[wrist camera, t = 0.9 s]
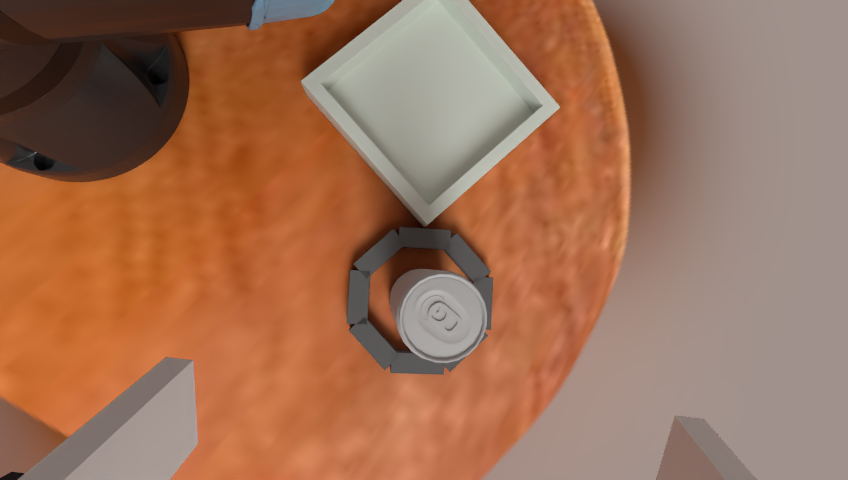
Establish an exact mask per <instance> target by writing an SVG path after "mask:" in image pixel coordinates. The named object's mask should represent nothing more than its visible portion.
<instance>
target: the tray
mask: <svg viewBox="0 0 848 480" xmlns="http://www.w3.org/2000/svg"><path fill="white" fill-rule="evenodd" d="M301 83H302V86H303V88H304V90H305V93H306V95H307V96H308V97H309V98H310V100H311V101H312V102H313V103H314V104H315V105H316V106H317V107H318V109H319V110H320V111H321V112H322V113H323V114H324V115H325V116H326V118H327V119H328V120H329V121H330V122H331V123H332V124H333V126H334V127H335V128H336V129H337V130H338V131H339V132H340V133H341V135H342V136H343V137H344V138H345V139H346V140H347V141H348V143H349V144H350V145H351V146H352V147H353V148H354V149H355V150H356V152H357V153H358V154H359V155H360V156H361V157H362V158H363V160H364V161H365V162H366V163H367V164H368V165H369V166H370V167H371V169H372V170H373V171H374V172H375V173H376V174H377V175H378V176H379V178H380V179H381V180H382V181H383V182H384V183H385V184H386V186H387V187H388V188H389V189H390V190H391V191H392V192H393V193H394V195H395V196H396V197H397V198H398V199H399V200H400V201H401V203H402V204H403V205H404V206H405V207H406V208H407V209H408V210H409V212H410V213H411V214H412V215H413V216H414V217H415V218H416V219H417V221H418V222H419V223H420V224H421V225H422V226H423V227H426V226H427V225H428V224H429V223H430V222H431V221H433V220H434V219H435V218H436V217H437V216H438V215H439V214H440V213H442V212H443V211H444V210H445V209H446V208H447V207H448V206H449V205H451V204H452V203H453V202H454V201H455V200H456V199H457V198H459V197H460V196H461V195H462V194H463V193H464V192H465V191H466V190H468V189H469V188H470V187H471V186H472V185H473V184H474V183H475V182H477V181H478V180H479V179H480V178H481V177H482V176H483V175H484V174H486V173H487V172H488V171H489V170H490V169H491V168H492V167H493V166H495V165H496V164H497V163H498V162H499V161H500V160H501V159H503V158H504V157H505V156H506V155H507V154H508V153H509V152H510V151H512V150H513V149H514V148H515V147H516V146H517V145H518V144H519V143H521V142H522V141H523V140H524V139H525V138H526V137H527V136H528V135H530V134H531V133H532V132H533V131H534V130H535V129H536V128H537V127H539V126H540V125H541V124H542V123H543V122H544V121H545V120H546V119H548V118H549V117H550V116H551V115H552V114H553V113H554V112H556V111H557V110H558V109H559V108H560V106H559V105H558V104H557V103H556V102H555V100H554V99H553V98H552V97H551V96H550V95H549V93H548V92H547V91H546V90H545V89H544V88H543V87H542V85H541V84H540V83H539V82H538V81H537V80H536V78H535V77H534V76H533V75H532V74H531V73H530V71H529V70H528V69H527V68H526V67H525V66H524V64H523V63H522V62H521V61H520V60H519V59H518V57H517V56H516V55H515V54H514V53H513V52H512V50H511V49H510V48H509V47H508V46H507V45H506V44H505V42H504V41H503V40H502V39H501V38H500V37H499V35H498V34H497V33H496V32H495V31H494V30H493V28H492V27H491V26H490V25H489V24H488V23H487V21H486V20H485V19H484V18H483V17H482V16H481V14H480V13H479V12H478V11H477V10H476V9H475V7H474V6H473V5H472V4H471V3H470V2H469V0H403V1H401V2H400V3H399V4H397V5H396V6H395V7H394V8H392V9H391V10H390V11H389V12H387V13H386V14H385V15H384V16H382V17H381V18H380V19H378V20H377V21H376V22H375V23H373V24H372V25H371V26H370V27H368V28H367V29H366V30H365V31H363V32H362V33H361V34H360V35H358V36H357V37H356V38H354V39H353V40H352V41H351V42H349V43H348V44H347V45H346V46H344V47H343V48H342V49H341V50H339V51H338V52H337V53H336V54H334V55H333V56H332V57H330V58H329V59H328V60H327V61H325V62H324V63H323V64H322V65H320V66H319V67H318V68H317V69H315V70H314V71H313V72H312V73H310V74H309V75H308V76H306V77H305V78H304V79H303V80H301Z"/></svg>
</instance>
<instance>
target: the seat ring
mask: <svg viewBox="0 0 848 480" xmlns="http://www.w3.org/2000/svg"><path fill="white" fill-rule="evenodd" d="M402 247H406V248H423V249H439V250H444V251H445V252H446V253H447V255H448V256H449V257H450V258H451V259H452V260H453V261H454V263H455V264H456V265H457V266H458V267H459V268H460V269H461V270H462V272H463V273H464V274H465V275H466V276H467V277H468V278H469V279H470V281H471V282H472V284H473V285H474V286H475V287H476V288H477V289H478V291H479V292H480V294H481V296H482V298H483V300H484V302H485V306H486V311H487V326H486V329H487V330H491V312H492V289H493V278H490V277H485V276H487V275H488V274H489V273H490V272H491V271H490V270H489V269H488V268H487V267H486V266H485V264H484V263H483V262H482V261H481V260H480V259H479V258H478V256H477V255H476V254H475V253H474V252H473V251H472V250H471V248H470V247H469V246H468V245H467V244H466V243H465V242H464V241H463V239H462V238H461V237H460V236H459V235H458V234H457V233H456V234H454V235H453V236H452V237H451V230H441V229H426V228H411V227H399V232H398V234H397V233H396V232H395V230H394V229H393V230H391V231H390V232H389V233H388V234H387V235H386V236H385V237H383V238H382V239H381V240H380V241H379V242H378V243H377V244H375V245H374V246H373V247H372V248H371V249H370V250H369V251H367V252H366V253H365V254H364V255H363V256H362V257H361V258H359V259H358V260H357V261H356V262H355V263H354V265H355V266H356V267H357V269H358V270H350V281H349V296H348V311H347V324H354V325H353V326H352V327H350V329H349V331H350V332H351V333H352V334H353V335H354V337H355V338H356V339H357V340H358V341H359V342H360V343H361V344H362V345H363V347H364V348H365V349H366V350H367V351H368V352H369V353H370V354H371V355H372V357H373V358H374V359H375V360H376V361H377V362H378V363H379V364H380V365H381V367H382V368H383V369H384V370H385V369H386V368H387V367H388V366H390V365H391V366H390V370H391V373H411V374H444V366H445V367H446V368H447V369H448V370H449V372H450V371H451V370H452V369H454V368H455V367H456V366H457V365H458V364H459V363H460V362H461V361H462V360H463V359H464V358H465V357H466V356H465V357H463V358H461V359H459V360H457V361H452V362H448V363H439V362H433V361H429V360H426V359H423V358H421V357H419V356H418V355H416V354H415V353H413V352H412V351H411V350H396V349H395V348H394V347H393V346H392V345H391V344H390V342H389V341H388V340H387V339H386V338H385V337H384V336H383V335H382V334H381V332H380V331H379V330H378V329H377V328H376V327H375V326H374V325H373V324H372V322H371V321H370V320H369V319H368V303H369V287H370V275H371V274H373V273H374V272H375V271H376V270H377V269H378V268H379V267H380V266H382V265H383V264H384V263H385V262H386V261H387V260H388V259H389V258H391V257H392V256H393V255H394V254H395V253H396V252H397V251H398V250H400V249H401V248H402ZM487 336H488V335H487V334H486V333H485V332H484V335H483V338H482V339H481V341H480V343H481V342H482V341H483V340H484V339H485V338H486V337H487ZM480 343H479V344H480ZM479 344H478V345H479Z"/></svg>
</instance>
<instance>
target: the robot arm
mask: <svg viewBox="0 0 848 480" xmlns="http://www.w3.org/2000/svg"><path fill="white" fill-rule="evenodd" d="M334 1H335V0H0V162H1V163H3V164H5V165H7V166H10V167H12V168H15V169H17V170H20V171H23V172H27V173H31V174H34V175H38V176H42V177H46V178H49V179H54V180H60V181H68V182H89V181H97V180H103V179H107V178H111V177H115V176H118V175H120V174H123V173H125V172H128V171H130V170H132V169H134V168H136V167H138V166H139V165H141V164H142V163H144V162H145V161H147V160H148V159H150V158H151V157H152V156H153V155H154V154H156V153H157V152H158V151H159V150H160V149H161V148H162V147H163V146H164V145H165V143H166V142H167V141H168V140H169V138H170V137H171V136H172V134H173V133H174V131H175V130H176V128H177V126H178V124H179V122H180V120H181V117H182V115H183V112H184V109H185V105H186V101H187V96H188V71H187V65H186V60H185V57H184V54H183V51H182V48H181V46H180V44H179V42H178V40H177V38H176V36H175V35H174V33H173V32H182V31H192V30H202V29H212V28H222V27H232V26H242V25H246V26H247V29H248V30H256V29H259V28H260V27H261V26H262V24H264V23H271V22H277V21H284V20H291V19H297V18H304V17H311V16H315V15H318V14H320V13H322V12H324V11H325V10H327V9H328V8H329V7H330V6H331V4H332V3H333V2H334ZM197 444H198V435H197V418H196V401H195V383H194V366H193V360H186V359H177V358H168V357H166V358H164V359H163V360H162V361H161V362H160V363H158V364H157V365H156V366H155V367H154V368H152V369H151V370H150V371H149V372H147V373H146V374H145V375H144V376H143V377H141V378H140V379H139V380H138V381H137V382H135V383H134V384H133V385H132V386H130V387H129V388H128V389H127V390H126V391H124V392H123V393H122V394H121V395H120V396H118V397H117V398H116V399H115V400H114V401H112V402H111V403H110V404H109V405H107V406H106V407H105V408H104V409H103V410H101V411H100V412H99V413H98V414H97V415H95V416H94V417H93V418H92V419H90V420H89V421H88V422H87V423H86V424H84V425H83V426H82V427H81V428H80V429H78V430H77V431H76V432H75V433H74V434H72V435H71V436H70V437H69V438H67V439H66V440H65V441H64V442H63V443H61V444H60V445H59V446H58V447H57V448H55V449H54V450H53V451H52V452H50V453H49V454H48V455H47V456H46V457H45V458H43V459H42V460H41V461H40V462H38V463H37V464H36V465H35V466H34V467H32V468H31V469H30V470H29V471H28V472H26V473H17V472H11V473H9V474H7V475H5V476H3V477H1V478H0V480H170V479H171V477H172V476H173V475H174V474H175V472H176V471H177V470H178V469H179V467H180V466H181V465H182V463H183V462H184V461H185V460H186V458H187V457H188V456H189V455H190V453H191V452H192V451H193V449H194V448H195V447H196V446H197ZM656 480H757V479H756V478H755V477H754V476H753V475H752V473H751V472H750V471H749V470H748V469H747V468H746V467H745V465H744V464H743V463H742V462H741V461H740V460H739V459H738V458H737V456H736V455H735V454H734V453H733V452H732V451H731V449H730V448H729V447H728V446H727V445H726V444H725V442H723V440H722V439H721V438H720V437H719V436H718V434H717V433H716V432H715V431H714V430H713V429H712V428H711V427H710V425H709V424H708V423H707V422H706V421H705V420H704V419H700V418H691V417H682V416H675V417H674V421H673V424H672V427H671V431H670V434H669V437H668V441H667V444H666V448H665V451H664V454H663V458H662V461H661V465H660V468H659V471H658V475H657V478H656Z"/></svg>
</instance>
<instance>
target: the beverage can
mask: <svg viewBox="0 0 848 480" xmlns="http://www.w3.org/2000/svg"><path fill="white" fill-rule="evenodd" d="M390 307H391V311H392V314H393V317H394V320H395V323H396V326H397V329H398V332H399V334H400V336H401V338H402V340H403V342H404V343H405V344H406V346H407V347H408V348H409V349H410V350H411V351H412V352H413V353H415V354H416V355H418V356H419V357H421V358H423V359H426V360H429V361H433V362H439V363H448V362H452V361H457V360H459V359H461V358H463V357H465V356H467V355H469V354H470V353H471V352H472V351H473V350H474V349H475V348H476V347H477V346H478V344H479V343H480V341H481V339H482V338H483V335H484V332H485V329H486V326H487V311H486V306H485V302H484V300H483V298H482V296H481V294H480V292H479V291H478V289H477V288H476V287H475V286H474V285H473V284H472V282H471V281H469V280H468V279H466V278H465V277H463V276H462V275H460V274H457V273H454V272H451V271H443V270H432V269H414V270H410V271H408V272H406V273H404V274H403V275H402V276H400V277H399V278H398V279H397V280H396V282H395V283H394V285H393V287H392V290H391V293H390Z"/></svg>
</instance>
